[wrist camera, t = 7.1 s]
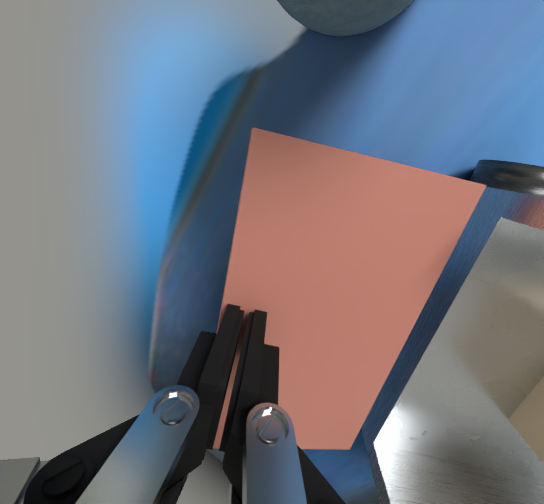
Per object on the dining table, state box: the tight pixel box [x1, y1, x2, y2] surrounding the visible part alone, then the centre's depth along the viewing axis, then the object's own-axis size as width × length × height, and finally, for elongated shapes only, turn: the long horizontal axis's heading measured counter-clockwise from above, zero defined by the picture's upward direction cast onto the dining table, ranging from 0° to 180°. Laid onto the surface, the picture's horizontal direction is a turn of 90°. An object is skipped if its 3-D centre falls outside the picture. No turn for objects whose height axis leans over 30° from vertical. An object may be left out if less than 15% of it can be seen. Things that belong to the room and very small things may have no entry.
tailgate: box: [213, 127, 487, 450], centre depth 13 cm, size 1×16×9 cm
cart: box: [361, 160, 544, 504], centre depth 14 cm, size 14×18×8 cm
